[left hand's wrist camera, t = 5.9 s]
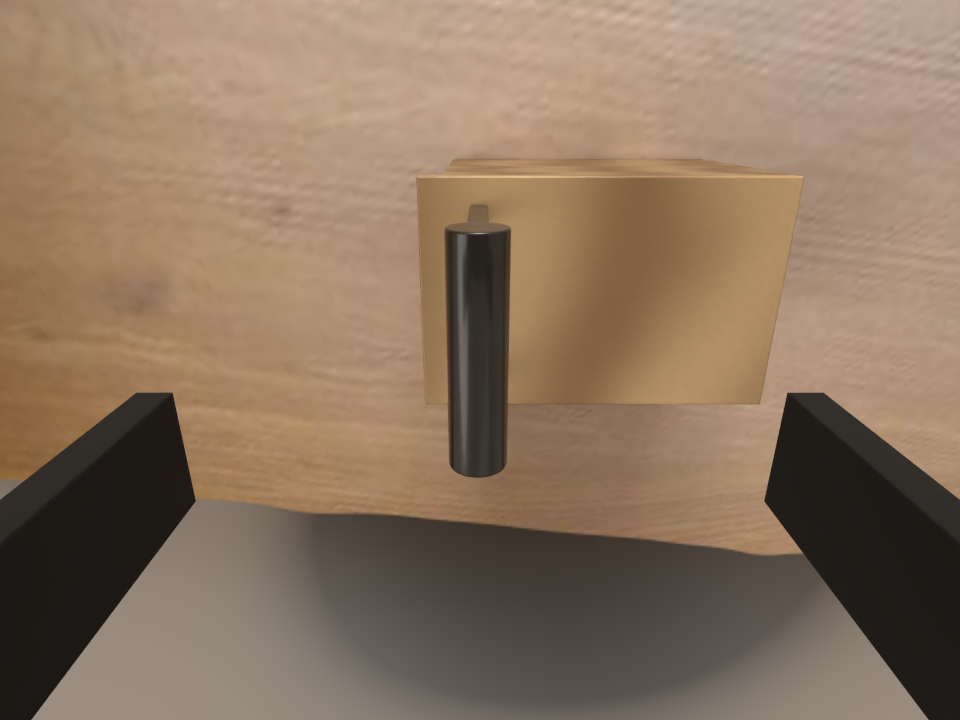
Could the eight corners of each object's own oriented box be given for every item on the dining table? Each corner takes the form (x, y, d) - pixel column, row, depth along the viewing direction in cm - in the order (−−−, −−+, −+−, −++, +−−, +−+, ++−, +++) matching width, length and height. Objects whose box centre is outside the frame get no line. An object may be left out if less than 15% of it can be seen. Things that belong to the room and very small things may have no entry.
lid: (426, 396, 27) (405, 501, 19) (418, 174, 23) (388, 199, 16) (752, 396, 27) (856, 502, 19) (794, 174, 23) (943, 199, 16)
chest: (455, 323, 36) (446, 395, 27) (453, 159, 33) (441, 174, 23) (679, 323, 36) (751, 395, 27) (701, 159, 33) (793, 174, 23)
